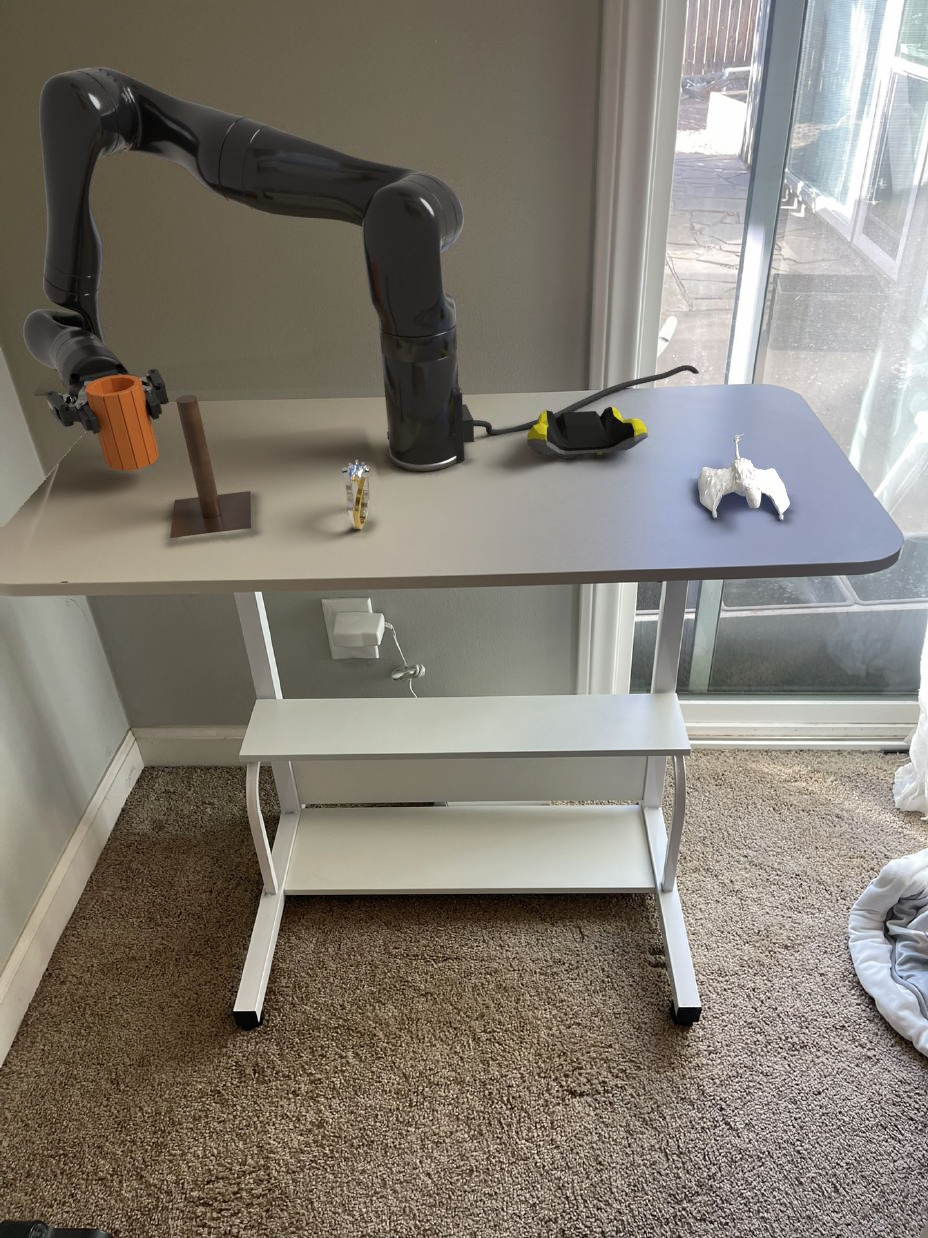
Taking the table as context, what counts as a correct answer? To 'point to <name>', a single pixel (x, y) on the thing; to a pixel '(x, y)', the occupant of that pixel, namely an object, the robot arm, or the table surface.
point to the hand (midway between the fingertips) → (125, 418)
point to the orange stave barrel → (123, 422)
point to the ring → (362, 495)
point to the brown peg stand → (205, 485)
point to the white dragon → (741, 484)
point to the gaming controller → (585, 433)
